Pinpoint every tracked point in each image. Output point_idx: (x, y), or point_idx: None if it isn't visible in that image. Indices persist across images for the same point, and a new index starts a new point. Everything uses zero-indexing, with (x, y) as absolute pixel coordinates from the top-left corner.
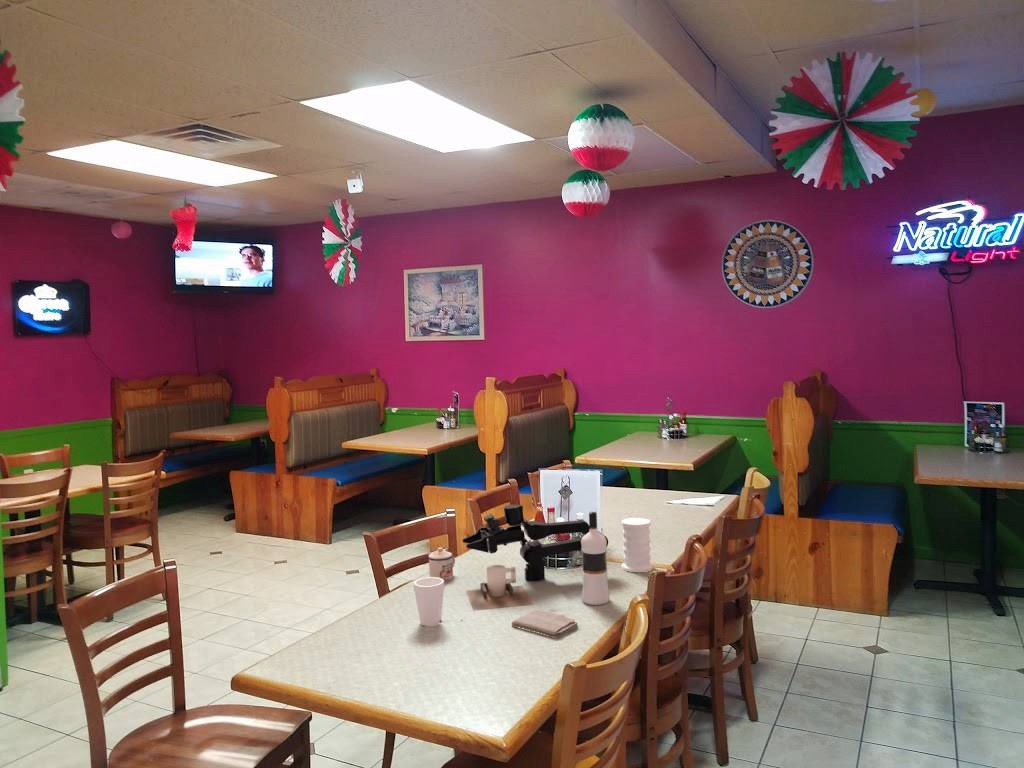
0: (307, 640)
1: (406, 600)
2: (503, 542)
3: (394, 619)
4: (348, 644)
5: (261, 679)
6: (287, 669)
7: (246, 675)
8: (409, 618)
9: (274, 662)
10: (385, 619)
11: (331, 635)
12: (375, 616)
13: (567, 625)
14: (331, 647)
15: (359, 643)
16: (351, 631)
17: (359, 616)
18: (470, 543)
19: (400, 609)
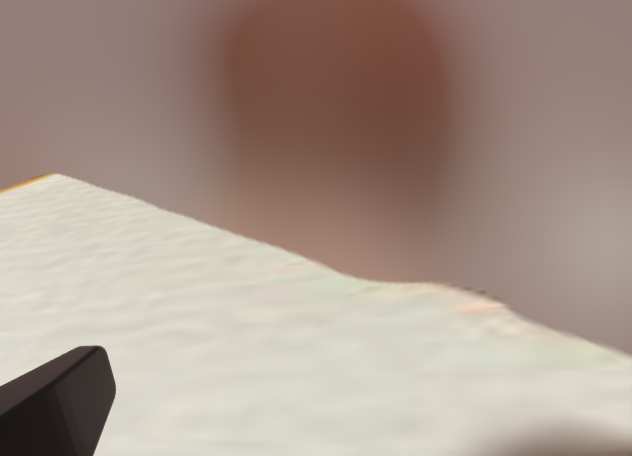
0: (129, 199)
1: (308, 339)
2: None
3: (110, 315)
4: (28, 249)
5: (9, 188)
6: (11, 202)
7: (47, 175)
8: None
9: (64, 186)
10: (134, 295)
11: (120, 221)
12: (186, 272)
13: None
14: (45, 230)
15: (8, 264)
16: (110, 244)
17: (217, 244)
18: (22, 383)
19: (203, 325)
